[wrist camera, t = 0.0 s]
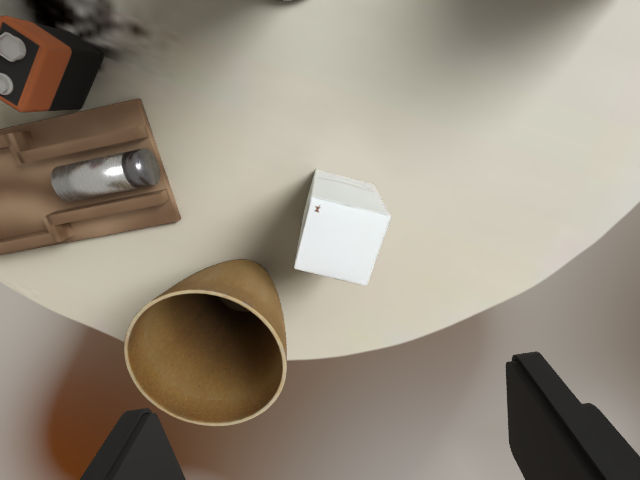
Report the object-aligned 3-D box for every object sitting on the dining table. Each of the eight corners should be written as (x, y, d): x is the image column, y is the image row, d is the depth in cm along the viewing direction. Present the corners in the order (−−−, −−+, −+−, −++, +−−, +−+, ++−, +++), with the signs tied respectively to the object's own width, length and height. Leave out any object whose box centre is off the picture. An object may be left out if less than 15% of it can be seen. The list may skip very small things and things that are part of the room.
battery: (106, 55, 41) (40, 43, 32) (82, 111, 43) (13, 115, 34) (68, 29, 40) (-12, 9, 31) (45, 87, 42) (-36, 85, 33)
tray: (-62, 144, 45) (-94, 147, 41) (140, 98, 42) (124, 99, 39) (-5, 254, 49) (-28, 265, 46) (181, 218, 47) (169, 227, 44)
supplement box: (299, 226, 47) (289, 269, 35) (315, 167, 45) (310, 192, 33) (358, 241, 48) (367, 289, 36) (376, 183, 45) (393, 214, 33)
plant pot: (290, 223, 47) (271, 283, 32) (306, 327, 52) (297, 421, 37) (172, 236, 48) (100, 300, 33) (199, 337, 53) (148, 432, 38)
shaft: (69, 163, 44) (45, 169, 40) (151, 145, 43) (135, 150, 39) (83, 196, 45) (61, 205, 42) (163, 180, 44) (148, 188, 41)
